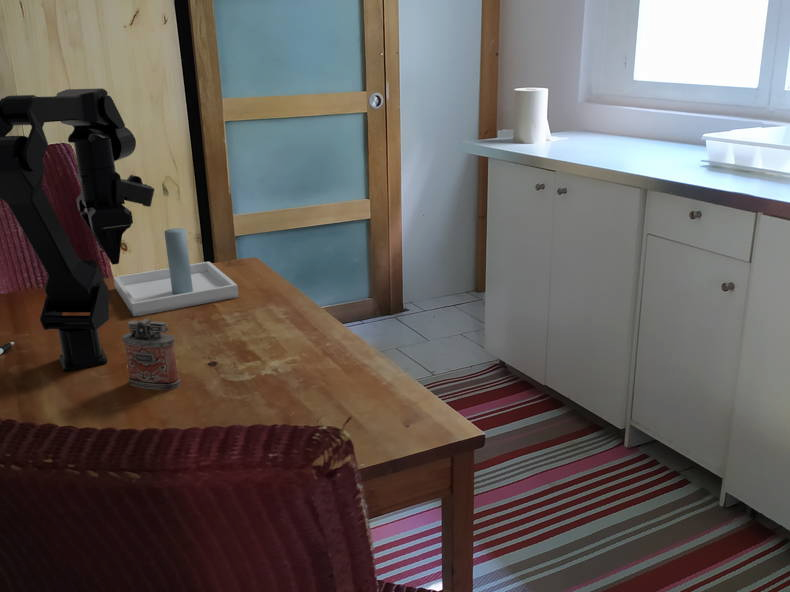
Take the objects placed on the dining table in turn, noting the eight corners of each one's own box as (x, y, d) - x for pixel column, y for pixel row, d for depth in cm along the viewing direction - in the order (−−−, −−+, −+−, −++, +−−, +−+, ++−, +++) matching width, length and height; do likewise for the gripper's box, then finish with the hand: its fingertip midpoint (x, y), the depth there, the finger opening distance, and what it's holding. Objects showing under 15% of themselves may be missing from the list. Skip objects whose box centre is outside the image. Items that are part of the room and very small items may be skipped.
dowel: (197, 289, 152) (190, 229, 148) (183, 296, 149) (175, 234, 145) (182, 287, 154) (174, 227, 150) (167, 293, 151) (159, 232, 147)
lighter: (124, 386, 112) (114, 322, 108) (138, 376, 115) (128, 314, 111) (172, 391, 109) (163, 327, 106) (185, 381, 112) (176, 318, 109)
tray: (238, 297, 149) (237, 285, 148) (134, 316, 140) (132, 304, 139) (210, 272, 166) (209, 261, 165) (115, 288, 157) (113, 277, 156)
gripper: (158, 169, 121) (170, 262, 126) (135, 155, 137) (147, 239, 142) (84, 177, 116) (100, 274, 121) (69, 162, 132) (84, 248, 137)
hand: (110, 257), depth 130 cm, fingers open, 9 cm apart
